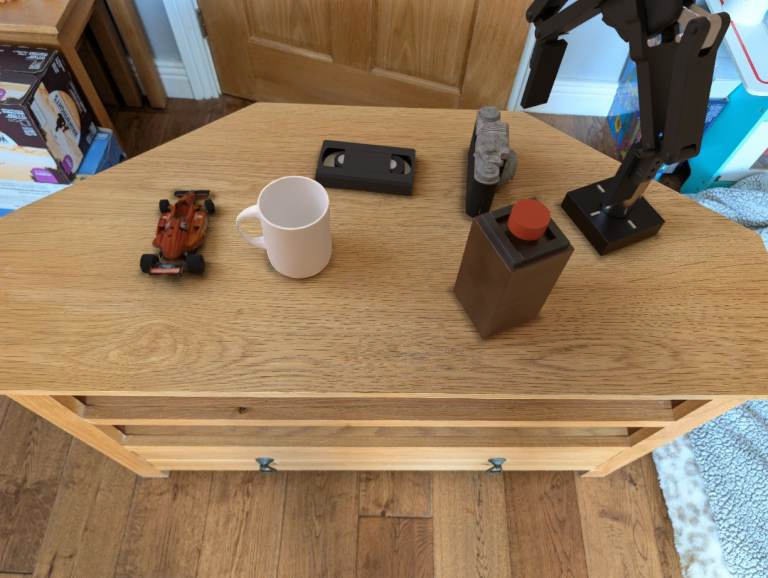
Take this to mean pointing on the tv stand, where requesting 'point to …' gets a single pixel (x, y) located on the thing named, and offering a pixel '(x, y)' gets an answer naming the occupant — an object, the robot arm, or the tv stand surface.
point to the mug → (292, 225)
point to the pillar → (508, 272)
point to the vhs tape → (366, 167)
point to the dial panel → (609, 219)
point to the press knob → (529, 219)
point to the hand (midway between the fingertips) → (571, 149)
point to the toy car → (179, 235)
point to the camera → (488, 161)
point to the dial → (626, 203)
